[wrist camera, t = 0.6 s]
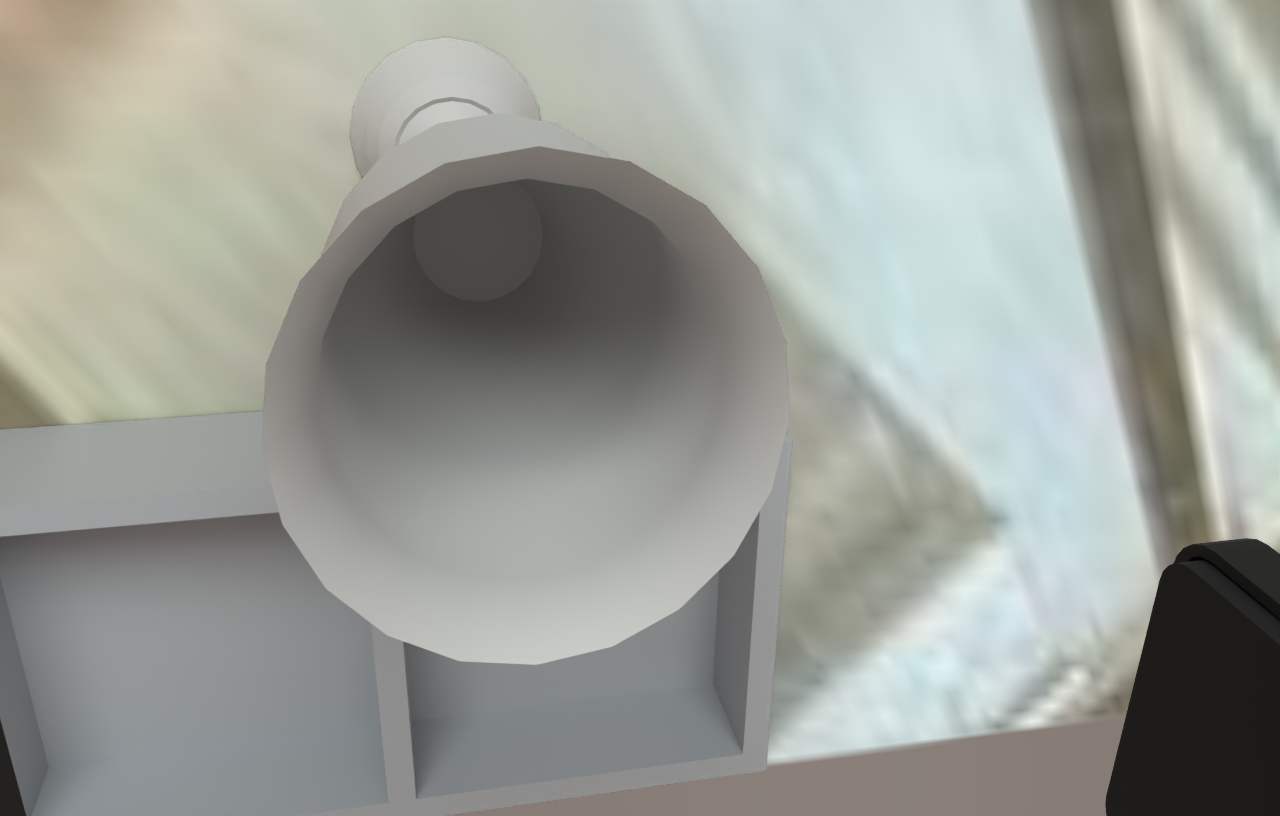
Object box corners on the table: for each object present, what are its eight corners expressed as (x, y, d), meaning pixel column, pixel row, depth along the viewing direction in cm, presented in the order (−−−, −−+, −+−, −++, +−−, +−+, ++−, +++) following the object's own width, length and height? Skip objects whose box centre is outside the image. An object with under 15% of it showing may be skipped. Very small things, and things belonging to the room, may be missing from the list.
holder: (744, 377, 36) (792, 441, 32) (726, 681, 41) (766, 771, 37) (-54, 433, 31) (-116, 516, 27) (33, 767, 36) (-8, 879, 32)
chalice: (572, 266, 33) (766, 641, 17) (326, 272, 32) (286, 689, 16) (577, -6, 30) (818, 144, 14) (304, -12, 29) (229, 147, 13)
